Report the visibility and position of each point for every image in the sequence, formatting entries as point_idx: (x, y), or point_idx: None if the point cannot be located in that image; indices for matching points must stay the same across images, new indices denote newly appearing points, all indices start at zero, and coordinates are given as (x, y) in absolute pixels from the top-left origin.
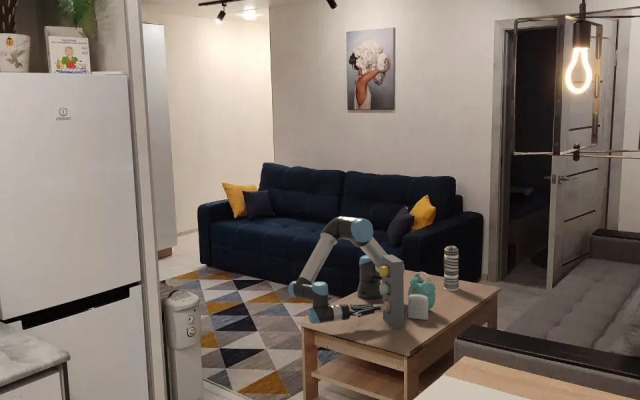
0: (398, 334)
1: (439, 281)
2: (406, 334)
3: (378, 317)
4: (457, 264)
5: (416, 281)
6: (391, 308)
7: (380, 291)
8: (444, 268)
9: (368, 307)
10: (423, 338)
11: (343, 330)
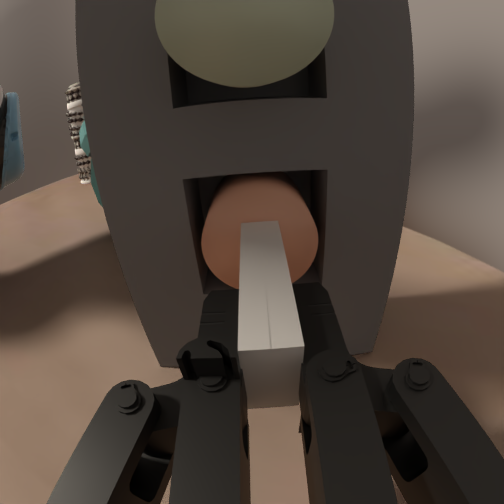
0: (462, 339)
1: (52, 187)
2: (455, 306)
3: (119, 380)
4: None
5: None
6: (362, 223)
7: (205, 53)
8: (77, 134)
9: (359, 474)
10: (478, 264)
11: None
